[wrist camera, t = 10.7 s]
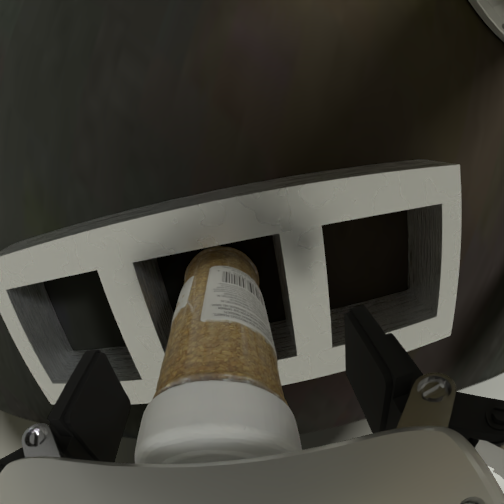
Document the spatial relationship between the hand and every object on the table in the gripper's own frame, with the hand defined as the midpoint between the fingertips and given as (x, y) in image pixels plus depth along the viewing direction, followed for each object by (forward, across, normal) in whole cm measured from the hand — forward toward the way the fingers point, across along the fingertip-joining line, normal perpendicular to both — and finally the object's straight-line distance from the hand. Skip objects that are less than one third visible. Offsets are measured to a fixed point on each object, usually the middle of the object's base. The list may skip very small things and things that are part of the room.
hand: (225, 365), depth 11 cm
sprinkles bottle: (+9, 0, 0) cm, 9 cm away
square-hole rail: (+8, 0, 0) cm, 8 cm away
